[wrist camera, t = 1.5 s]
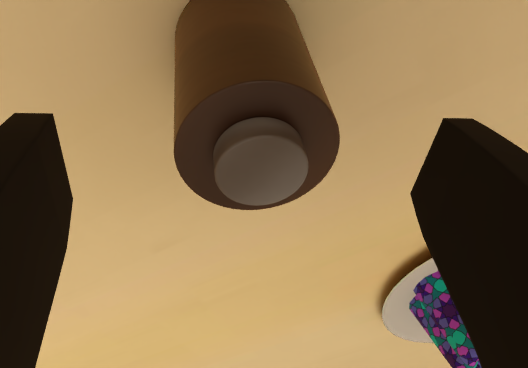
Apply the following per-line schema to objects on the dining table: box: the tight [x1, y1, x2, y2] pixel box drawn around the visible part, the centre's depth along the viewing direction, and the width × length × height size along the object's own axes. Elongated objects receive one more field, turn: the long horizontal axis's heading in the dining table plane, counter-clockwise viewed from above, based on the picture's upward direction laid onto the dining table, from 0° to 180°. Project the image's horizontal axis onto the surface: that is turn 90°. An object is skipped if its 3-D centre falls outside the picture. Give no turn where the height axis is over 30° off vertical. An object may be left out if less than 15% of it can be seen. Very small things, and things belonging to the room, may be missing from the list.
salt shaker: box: [174, 0, 340, 210], centre depth 15 cm, size 4×4×7 cm
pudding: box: [382, 258, 481, 368], centre depth 29 cm, size 12×12×5 cm
